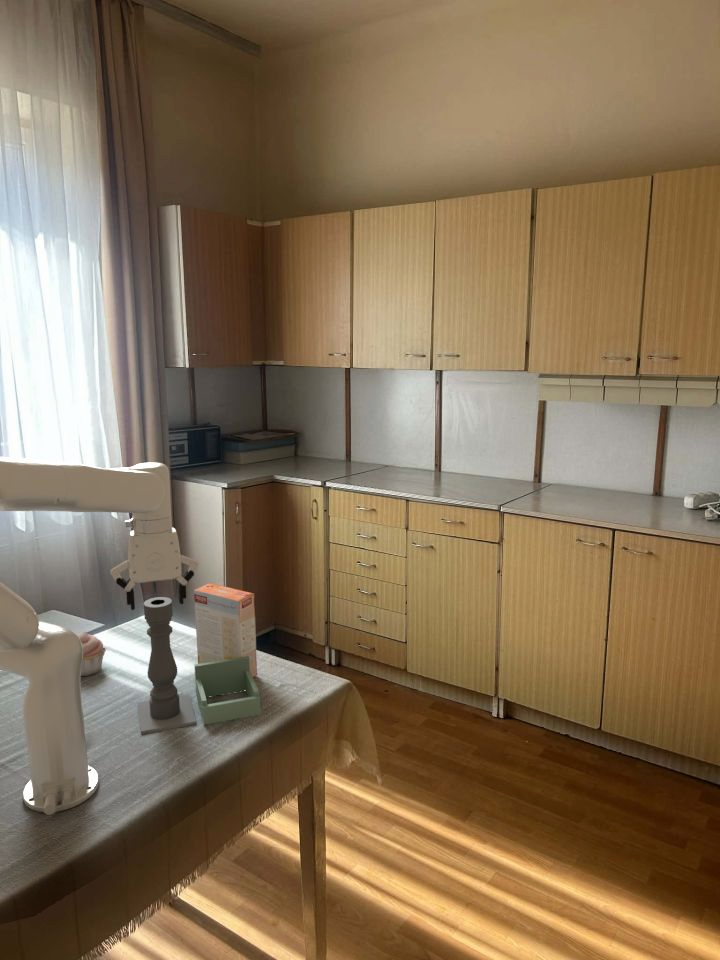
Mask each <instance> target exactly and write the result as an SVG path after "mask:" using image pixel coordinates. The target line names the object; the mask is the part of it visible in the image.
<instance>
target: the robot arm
mask: <svg viewBox="0 0 720 960" xmlns="http://www.w3.org/2000/svg"><path fill="white" fill-rule="evenodd" d="M169 469H170V468H169V467H168V466H167V465H166V464H164V463H162V462H141V463H137V464H135V465H133V466H129V467H128V466H127V467H112V468H104V467H100V466H99V467H97V466H93V465H88V464H82V463H77V462H70V461H58V460H57V461H56V460H44V459H33V458H32V459H31V458H20V457H7V456H0V511H2V512H67V513H68V512H71V513H121V514H122V513H125V514H132V518H130V519H129V520H125V521H124V522H125V528H129V529H132V530H131V531H130V533H129V538H128V549H127V551H128V553H127V554H128V559H125V560H124V561H123V562H121V563H119V564H117V565H116V566H114V567H113V568H111V569H110V570H109V572H110V575H111V577H112V578H113V579H114V581H115V583H116V584H117V585H118V586H120V587H121V588H123V589H122V590H124V591H125V592H126V593H125V594H126V605H127V606H130V609H131V611H135V609H136V606H135V605H136V604H135V603H136V602H135V591H134V587H135V586H136V584H142V583H153V582H163V581H172V580H176V581H177V595H178V598H177V599H178V601H179V604H181V605H184V599H187V584H188V582H189V581H190V580H191V579H192V578H193V577H194V576H195V572H196V571H197V569H198V567H199V561H198V560H195V559H193V558H192V557H191V558H190V557H188V556H185V555H183V554H181V548H180V541H179V536H178V533H177V530H176V528H174V527H173V522H172V521H173V519H172V518H173V517H172V505H171V504H172V501H171V483H170V480H171V479H170V470H169ZM182 564H185V565H187V566H189V567H188V570H186V572H184V574H183V573H182ZM127 569H128V573H129V575H128V576H129V577H128V578H127V579H125V578H123V577H122V576H121V575H120V574H121V573H122V572H123V571H125V570H127ZM82 660H83V646H82V642H81V640H80V639H79V637H78V634H77V633H75V632H74V631H73V630H71V629H69V628H67V627H65V626H61V625H59V624H54V623H50V622H48V621H46V622H45V621H42V620H39V617H38V614H37V612H36V610H35V609H34V607H33V606H32V605H31V604H30V603H29V602H28V601H26V599H24V598H23V597H21V596H20V595H18V594H17V593H16V592H14V591H13V590H12V589H10V588H9V587H8V586H6V585H5V584H4V583H2V581H0V670H1V671H3V672H7V673H11V674H14V675H17V676H20V677H23V678H25V679H27V680H28V687H27V689H26V692H25V694H24V697H23V701H22V715H23V716H22V717H23V722H24V730H25V737H26V739H25V740H26V746H27V747H26V748H27V756H28V762H29V763H28V764H29V773H30V780H29V781H28V782H27V784H26V785H25V787H24V789H23V792H22V799H23V802H24V804H25V806H26V807H27V808H29V809H31V810H32V811H36V812H39V813H40V812H41V813H44V814H45V815H47V816H49V815H53V814H55V813H56V812H61V811H65V810H68V809H71V808H74V807H77V806H78V805H80V804H82V803H83V802H85V801H87V800H88V799H89V798H91V797H92V795H93V794H94V793H95V792H96V790H97V789H98V787H99V785H100V783H99V781H100V779H99V778H100V777H99V774H98V772H97V770H95V769H94V768H93V767H92V766H89V761H88V750H87V740H86V739H87V738H86V731H85V730H86V729H85V720H84V710H83V701H82V687H81V686H82V685H81V681H82V680H81V679H82V678H81V677H82V676H81V667H82Z"/></svg>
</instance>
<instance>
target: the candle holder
mask: <svg viewBox="0 0 720 960" xmlns="http://www.w3.org/2000/svg"><path fill="white" fill-rule="evenodd" d="M143 613H144V615H143V616H144V620H145V622H146V624H148V628H147V630H146V635H147V636H148V637H149V638H150V647H151V651H150V655H149V656H150V657H149V663H148V668H147V678H148V680H149V681H150V683H152V684H151V685H152V686H153V687H152V688H151V690H150V691H149V692H150V693H149V695H150V697H149V700H148V701H149V703H150V716H151V717H152V718H154V719H157V720H166V719H170V718H173V717H175V716H176V715H178V714H179V712H180V703H179V696H180V694H179V693H178V687H176V685H175V684H174V683H175V680H176V678H177V676H178V665H177V663H176V661H175V657H174V653H173V651H172V647H171V637H170V636H171V634H172V633H173V626H172V625H170V624H171V622H172V618H173V616H174V614H173V600H172V599H171V598H170V597H165V596H164V597H163V596H157V597H151V598H149V599H147V600H145V601H144V602H143Z"/></svg>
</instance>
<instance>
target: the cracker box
mask: <svg viewBox="0 0 720 960" xmlns="http://www.w3.org/2000/svg"><path fill="white" fill-rule="evenodd" d="M193 597H194V599H193V600H194V612H195V613H194V615H195V631H196V632H195V634H196V635H195V636H196V649H197V653H196V654H197V664H201V663H207V662H214V661H220V660H226V659H233V658H239V657H245V656H249V666H250V672H251V674H252V677H254V678H255V677H257V676H258V668H257V667H258V665H257V663H258V661H257V660H258V659H257V637H256V635H257V634H256V614H255V612H256V611H255V593H252V592H248V591H244V590H241V589H236V588H232V587H227V586H224V585H219V584H217V583H213V582H211V583H207V584H204V585H203V586H200V587H198V588H195V589H194V590H193Z"/></svg>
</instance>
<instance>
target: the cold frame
mask: <svg viewBox="0 0 720 960" xmlns="http://www.w3.org/2000/svg"><path fill="white" fill-rule="evenodd" d="M194 678H195V680H194V681H195V696H196V697H197V698H196V700H197V701H198V702H197V705H198V710H199V713H200V712H201V713H200V716H202V717H201V719H202V723H203V726H206V725H205V724H207V725H212V724H211V723H213V724H217V722H218V723H222V721H223V722H227V721H226V720H229V721H232V720H233V719H234V720H238V719H237V718H240V719H243V718H242V717H245V718H249V717H248V716H251V717H253V716H252V715H256V716H260V715H259V714H261V697H260V691H259V689H258V686H257V683H256V681H255V679H254V678H253V677H252V674H251V672H250V666H249V656H245V657H239V658H233V659H226V660H220V661H214V662H207V663H201V664H198V663H196V664H195V663H194ZM244 690H246V691H247V692H246V691H244ZM240 691H244V692H246V694H248V695H247V697H241V698H236V699H231V700H225V701H219V702H215V703H209V704H208V700H207V699H208V698H206V697H209V696H215V697H217V696H216V695H221V696H223V695H222V694H226V695H229V694H228V693H232V694H235V693H234V692H238V693H241V692H240ZM248 696H249V697H248ZM209 698H210V697H209ZM234 720H233V721H234Z"/></svg>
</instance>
